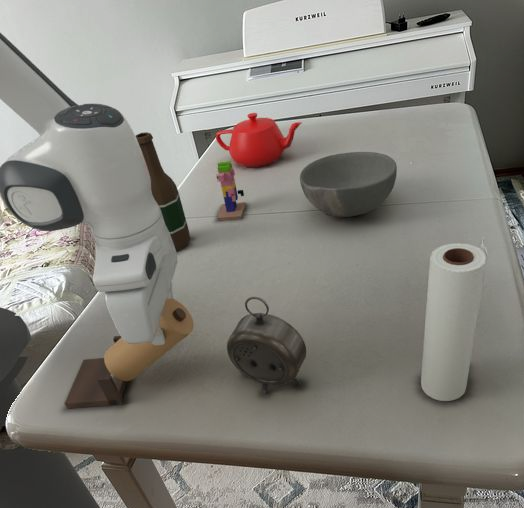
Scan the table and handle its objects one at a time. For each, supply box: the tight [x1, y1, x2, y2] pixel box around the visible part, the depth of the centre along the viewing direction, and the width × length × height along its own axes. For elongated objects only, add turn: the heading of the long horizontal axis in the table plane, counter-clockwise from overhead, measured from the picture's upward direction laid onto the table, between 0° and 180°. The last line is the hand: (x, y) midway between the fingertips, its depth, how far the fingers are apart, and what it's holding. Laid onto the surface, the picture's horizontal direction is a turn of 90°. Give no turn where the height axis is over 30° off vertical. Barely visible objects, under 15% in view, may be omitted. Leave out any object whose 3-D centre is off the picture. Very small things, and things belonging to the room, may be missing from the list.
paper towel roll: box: [420, 237, 488, 402], centre depth 65 cm, size 7×6×21 cm
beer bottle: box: [135, 131, 191, 252], centre depth 107 cm, size 8×8×24 cm
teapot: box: [215, 112, 303, 168], centre depth 140 cm, size 25×16×12 cm, turn 73°
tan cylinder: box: [103, 298, 195, 382], centre depth 77 cm, size 16×8×6 cm
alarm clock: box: [226, 296, 307, 395], centre depth 73 cm, size 11×5×16 cm, turn 66°
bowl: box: [299, 151, 398, 218], centre depth 111 cm, size 20×20×10 cm
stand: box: [64, 335, 128, 410], centre depth 82 cm, size 9×10×6 cm
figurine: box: [215, 160, 247, 221], centre depth 119 cm, size 7×6×12 cm
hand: (165, 325), depth 75 cm, fingers closed on tan cylinder, 6 cm apart
